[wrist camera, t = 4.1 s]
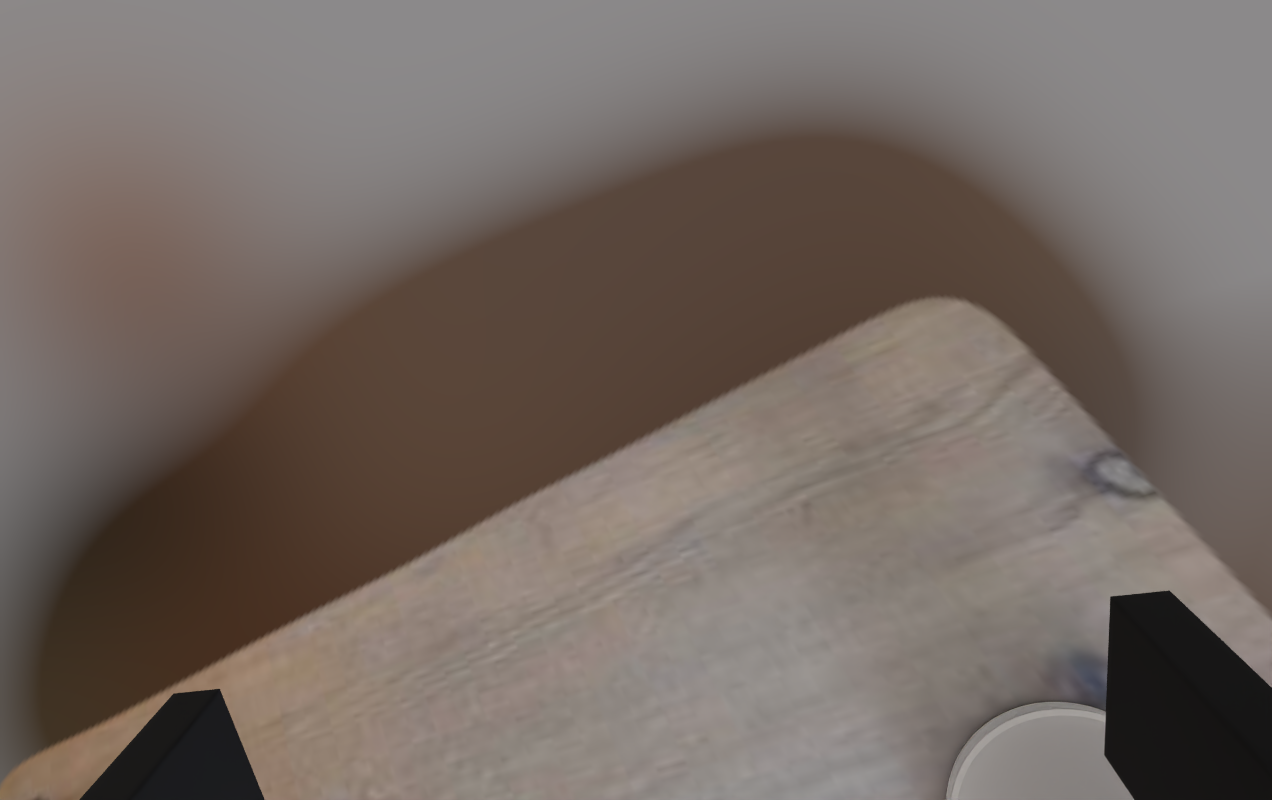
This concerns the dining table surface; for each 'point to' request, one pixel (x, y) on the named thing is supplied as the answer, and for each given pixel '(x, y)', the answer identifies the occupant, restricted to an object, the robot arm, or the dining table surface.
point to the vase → (1038, 757)
